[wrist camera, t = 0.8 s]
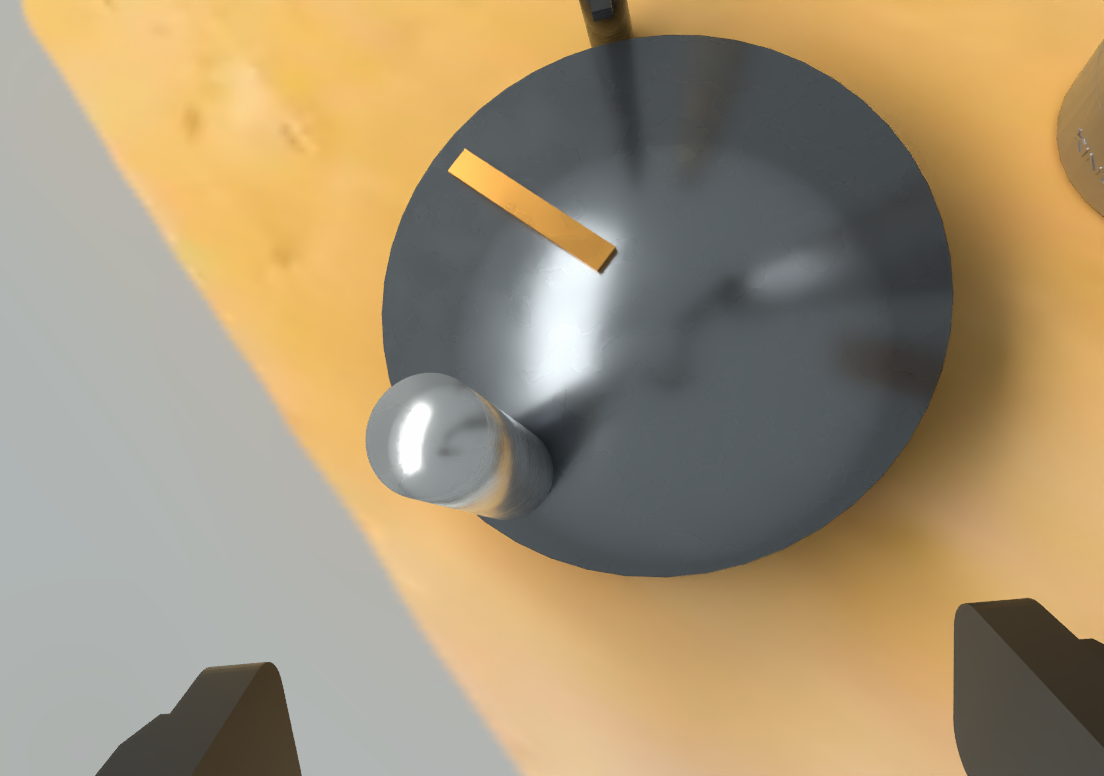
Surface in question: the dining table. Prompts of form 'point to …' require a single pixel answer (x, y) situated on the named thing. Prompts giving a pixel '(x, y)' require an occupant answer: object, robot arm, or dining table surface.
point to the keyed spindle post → (606, 21)
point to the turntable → (661, 309)
